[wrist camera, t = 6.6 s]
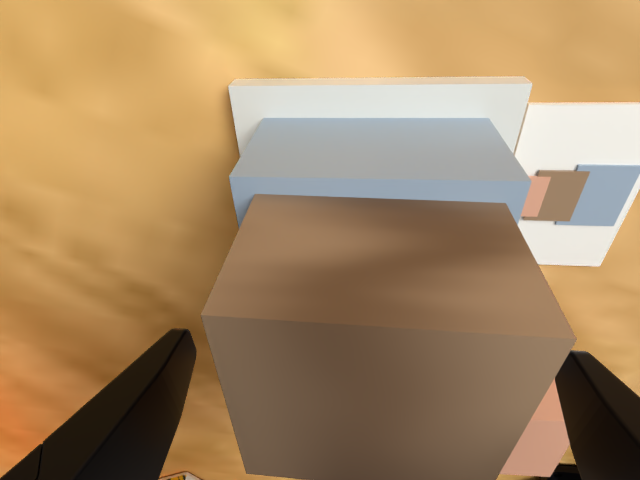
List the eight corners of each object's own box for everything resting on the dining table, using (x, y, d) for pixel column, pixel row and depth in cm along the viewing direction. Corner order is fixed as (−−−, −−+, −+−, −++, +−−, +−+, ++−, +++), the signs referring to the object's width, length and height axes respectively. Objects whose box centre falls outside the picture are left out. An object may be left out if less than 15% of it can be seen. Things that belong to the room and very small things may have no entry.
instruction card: (678, 101, 12) (686, 106, 12) (597, 262, 16) (602, 269, 16) (527, 102, 12) (531, 106, 12) (483, 259, 16) (486, 265, 16)
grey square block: (523, 76, 12) (596, 139, 8) (467, 290, 17) (495, 388, 14) (234, 79, 13) (178, 137, 9) (266, 282, 18) (240, 371, 14)
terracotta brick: (547, 342, 19) (582, 422, 16) (523, 399, 22) (550, 476, 19) (440, 339, 20) (455, 416, 17) (432, 396, 23) (442, 470, 20)
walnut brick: (505, 202, 9) (577, 339, 6) (456, 360, 13) (485, 497, 10) (255, 193, 10) (200, 314, 7) (275, 347, 13) (246, 473, 10)
